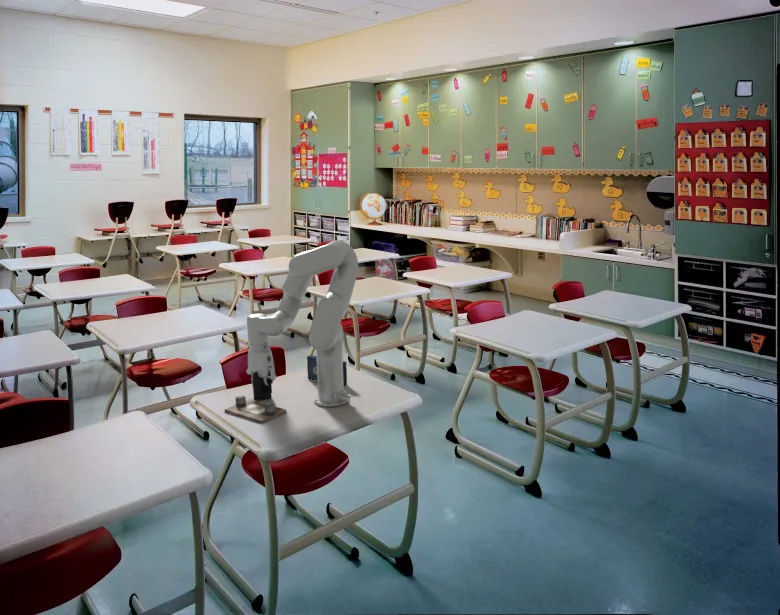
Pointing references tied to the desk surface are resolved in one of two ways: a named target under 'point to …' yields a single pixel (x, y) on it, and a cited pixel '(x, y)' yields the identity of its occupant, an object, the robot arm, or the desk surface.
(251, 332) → the robot arm
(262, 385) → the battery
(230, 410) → the collar board
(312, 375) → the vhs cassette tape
